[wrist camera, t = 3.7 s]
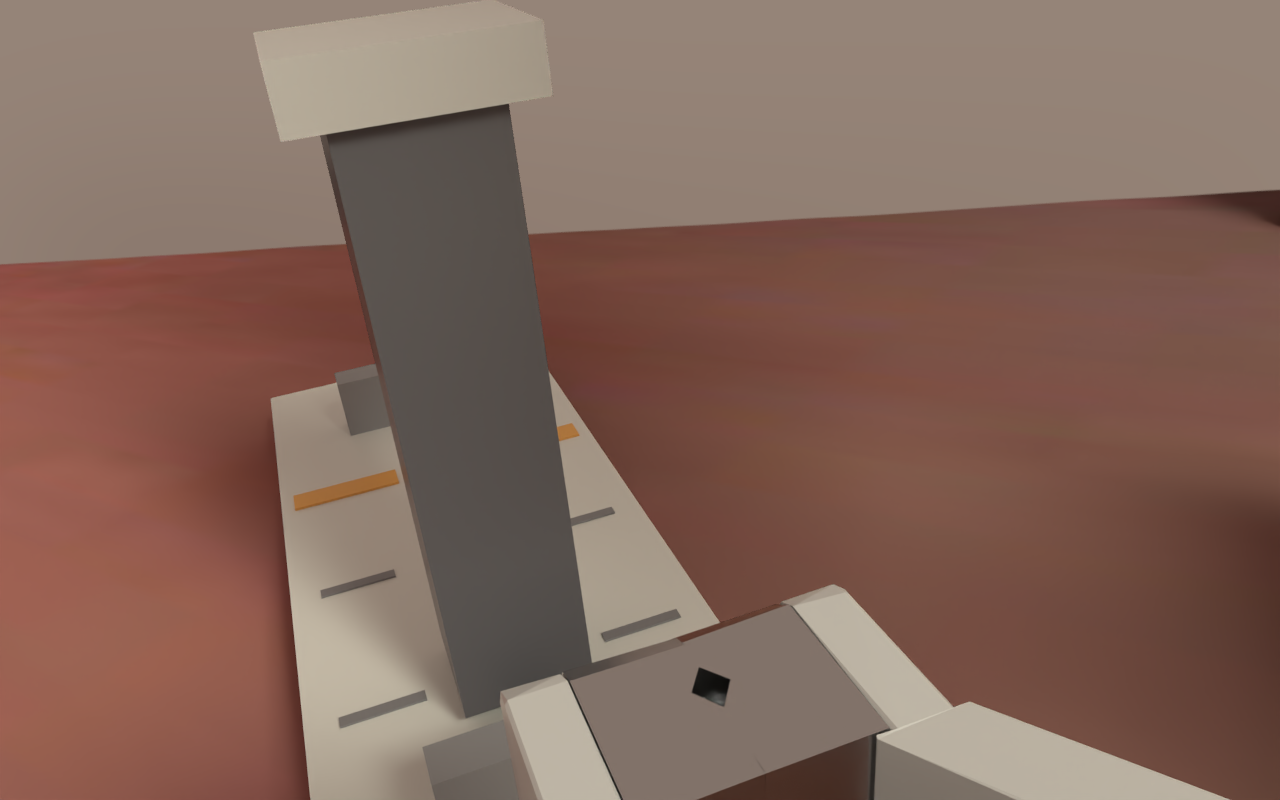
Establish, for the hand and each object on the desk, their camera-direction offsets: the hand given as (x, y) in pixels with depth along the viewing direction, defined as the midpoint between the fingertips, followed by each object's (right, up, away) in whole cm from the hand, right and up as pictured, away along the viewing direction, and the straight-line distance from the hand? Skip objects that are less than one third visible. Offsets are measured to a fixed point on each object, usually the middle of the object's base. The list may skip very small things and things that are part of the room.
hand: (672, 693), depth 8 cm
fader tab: (-3, -4, +15) cm, 16 cm away
